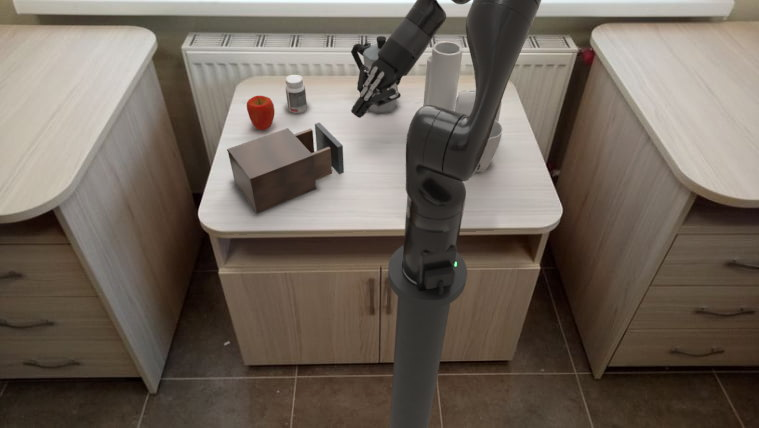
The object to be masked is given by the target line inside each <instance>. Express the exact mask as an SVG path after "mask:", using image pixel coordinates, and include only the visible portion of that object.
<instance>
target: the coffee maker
mask: <svg viewBox="0 0 759 428" xmlns="http://www.w3.org/2000/svg"><path fill="white" fill-rule="evenodd" d="M386 41H387V37H386V36H383V35H379V36H377V37H376V43H375V44H371V42H368V41H367V42H365V43H363V44H361V43H355V44H353V47H352V48H351V51H350V54H351V55H352V58H353V60H354V62H355V64H356V66H357V68H358V71H360V67H361V66H362V65H365V66H366V67H367V66H371V65H372V63H373V62H374V61H376V60H377V59H378V57H379V56H378V52H379V51H380V49H381V48H382V47H383V45H384V44H385V42H386ZM360 55H361V56H362V58H363V61H362V59H361V56H360ZM371 85H372V84H371ZM369 91H370V90H369ZM369 91H368V92H369ZM379 91H380V90H379ZM374 95H375V94H374ZM374 95H373V96H374ZM397 107H398V102H397V99H396V100H393V101H391V102H389V103H386V104H384V105H382V106H379V107H378V106H377V105H371V106H370V108H369V109H368V110H367V112H370V113H373V114H376V115H381V114H382V115H383V114H390V113H391V112H393V111H394V110H395V109H397Z"/></svg>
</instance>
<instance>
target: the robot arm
mask: <svg viewBox="0 0 759 428" xmlns="http://www.w3.org/2000/svg"><path fill="white" fill-rule="evenodd" d="M451 1H452V2H453V3H454V4H456V5H465V4H468V3H470V2H471V1H472V0H451ZM541 3H542V0H473V1H472V3H471V4H470V8H469V10H468V13H467V16H466V20H465V33H466V34H465V35H466V40H467V46H468V49H469V50H468V51H469V54H470V55H469V56H470V59H471V63H472V67H473V72H474V73H473V74H474V82H475V89H476V96H475V102H474V106H473V109H472V112H471V114H470V115H469V116H468V115H465V114H461V113H458V112H455V111H451V110H448V109H445V108H441V107H438V106H434V105H425V106H423V105H422V106H421V107H420V108H418V110H417V111H416V112H415V113H414V115H413V116H412V119H411V121H410V124H409V127H408V130H407V134H406V141H405V192H406V208H405V223H404V237H403V245H404V249H403V261H402V272H403V275H404V277H405V278H406V279H407V280H408V281H409V282H410V283H411V284H413V285H415V286H416V287H417V289H418V291H424V290H429V289H436V288H439V292H437V295H438V296H440V295H442V294H443V291H444V287H445V286H450V285H453V283H454V277H455V271H454V268H455V266H456V257H457V252H458V244H459V239H460V232H461V228H462V221H463V216H464V209H465V205H466V204H465V203H466V199H467V189H466V186H465V183H464V182H467V181H469V180H470V179H471V178H472V177H473V176H474V175H475V173H476V172H477V171H476V170H477V168H478V166H479V164H480V162H481V159H482V157H483V154H484V152H485V149H486V146H487V143H488V140H489V137H490V134H491V131H492V128H493V125H494V122H495V118H496V115H497V112H498V109H499V106H500V103H501V102H502V100H503V97H504V94H505V91H506V88H507V86H508V83H509V80H510V78H511V76H512V73H513V70H514V68H515V65H516V64H517V61H518V59H519V56H520V54H521V52H522V50H523V47H524V45H525V43H526V40H527V38H528V35H529V33H530V31H531V29H532V26H533V24H534V21H535V18H536V16H537V14H538V11H539V9H540V5H541ZM446 20H447V13H446V11H445V10H444V8H443V6H442V5H440V3H439V2H438V0H416V1H415V2H414V4H413V5H412V7H411V8H410V9H409V11H408V12H407V14H406V15H405V16H404V18H403V19H401V22H400V23H398V25H397V26H396V27H395V28H394V30H393V31H392V32H391V33H390V35H389V37H388V38H387V39H386V42H385V44H384V45H383V47H382V48H381V49H380V51H379V52H378V56H379V57H378V59H377V60H376V61H374V62H373V63H372V65H371V66H367V67H366V66H365V65H364V64H363V65H362V66H361V67H360V70H359V73H358V78H357V79H358V80H357V87H356V90H357V91H358V92H359V97H358V98H357V100H356V101H355V103H354V104H353V106H352V107H351V110H350V112H351V114H353V115H354V116H355V117H357V118H358V119H361V118H362V117H364V116H365V114H366V113H367V112H368V109H369V108H370V106H371V105H377V106H378V107H379V106H382V105H384V104H386V103H389V102H391V101H393V100H396V101H397V100H398V99H400V98H401V95H402V94H401V93H400V92H399V87H398V86H399V85H400V83H401V81H402V78H403V77H406V76H408V74H409V73H410V72H411V70H412V69H413V67H414V66H415V65H416V63H417V62H418V61H419V59H420V58H421V57H422V55H423V54H424V53H425V51H426V50H427V48H428V46H429V44H430V42H431V41H432V39H433V38H434V36H435V35H436V34H437V33H438V31H439V30H440V29H441V28H442V26H443V24H444V23H445V22H446ZM371 84H372V85H371ZM369 90H370V91H369ZM379 90H380V91H379ZM368 91H369V92H368ZM374 94H375V95H374ZM373 95H374V96H373Z"/></svg>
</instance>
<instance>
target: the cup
mask: <svg viewBox="0 0 759 428" xmlns="http://www.w3.org/2000/svg"><path fill="white" fill-rule="evenodd" d="M503 131H504V128H503V126H502V124H501V122H499V121H496V120H495V122H494V125H493V128H492V131H491V134H490V137H489V140H488V143H487V146H486V149H485V152H484V154H483V157H482V159H481V162H480V164H479V166H478V168H477V170H476V172H478V173H479V172H484V171H485V170H487V169H488V168H489V166H490V164H491V163H492V161H493V160H494V157H495V155H496V152H497V150H498V148H499V144H500V142H501V138H502V135H503Z"/></svg>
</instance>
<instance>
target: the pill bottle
mask: <svg viewBox="0 0 759 428" xmlns="http://www.w3.org/2000/svg"><path fill="white" fill-rule="evenodd" d="M285 84H286V85H285V95H286V104H287V109H288V111H289V112H291V113H292V114H300V113H304V112H305V111H306V110H307V109H308V103H307V94H306V85H305V83H304V81H303V77H302V75H299V74H290V75H287V76H286V77H285Z"/></svg>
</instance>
